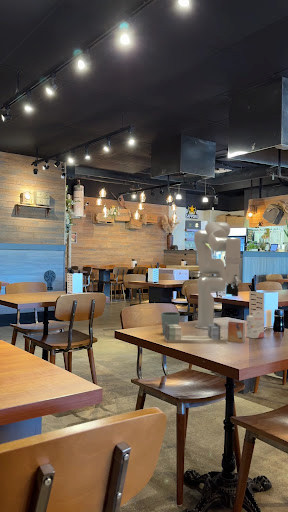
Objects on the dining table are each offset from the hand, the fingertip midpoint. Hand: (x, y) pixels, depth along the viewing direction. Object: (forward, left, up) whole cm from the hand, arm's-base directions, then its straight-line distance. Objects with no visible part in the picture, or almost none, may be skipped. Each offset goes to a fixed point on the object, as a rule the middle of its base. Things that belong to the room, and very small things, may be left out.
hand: (231, 295), depth 219 cm
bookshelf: (+1, -19, -24) cm, 31 cm away
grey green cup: (-16, -29, -24) cm, 41 cm away
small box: (0, +3, -24) cm, 24 cm away
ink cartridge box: (-10, +17, -24) cm, 31 cm away
